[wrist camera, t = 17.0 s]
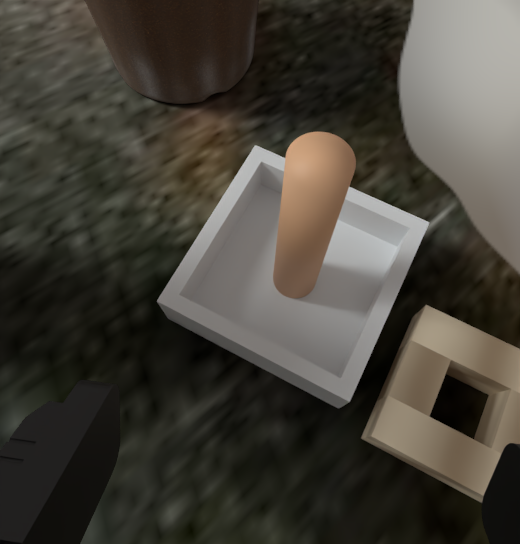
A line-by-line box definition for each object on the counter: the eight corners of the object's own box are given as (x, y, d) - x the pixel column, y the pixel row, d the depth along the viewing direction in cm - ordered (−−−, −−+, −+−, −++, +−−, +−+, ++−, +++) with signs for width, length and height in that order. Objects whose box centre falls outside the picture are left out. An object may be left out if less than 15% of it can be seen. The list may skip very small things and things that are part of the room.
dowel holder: (360, 438, 31) (371, 436, 28) (412, 317, 34) (426, 304, 31) (497, 511, 29) (522, 516, 27) (538, 378, 32) (565, 370, 29)
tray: (167, 318, 34) (156, 301, 30) (255, 176, 38) (255, 145, 34) (338, 408, 31) (349, 402, 28) (411, 247, 36) (429, 222, 32)
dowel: (265, 286, 33) (273, 172, 20) (284, 251, 34) (303, 121, 21) (304, 305, 33) (338, 202, 20) (323, 269, 34) (366, 148, 21)
